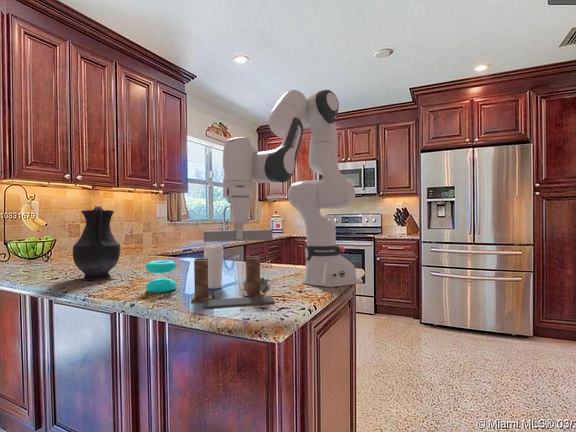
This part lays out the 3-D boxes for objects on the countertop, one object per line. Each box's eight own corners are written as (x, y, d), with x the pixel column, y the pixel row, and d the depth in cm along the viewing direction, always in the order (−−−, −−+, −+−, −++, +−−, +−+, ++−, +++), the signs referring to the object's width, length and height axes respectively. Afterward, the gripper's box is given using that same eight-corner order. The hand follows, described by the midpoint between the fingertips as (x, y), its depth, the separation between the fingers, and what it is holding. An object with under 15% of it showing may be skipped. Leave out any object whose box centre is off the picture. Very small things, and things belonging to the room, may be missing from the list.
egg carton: (261, 293, 112) (261, 281, 112) (240, 292, 114) (240, 280, 114) (270, 286, 123) (270, 275, 123) (250, 285, 124) (250, 274, 124)
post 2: (260, 293, 111) (260, 255, 111) (263, 297, 105) (263, 258, 105) (242, 294, 110) (242, 256, 109) (244, 298, 104) (244, 259, 104)
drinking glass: (219, 290, 116) (218, 247, 116) (201, 289, 117) (200, 246, 117) (226, 285, 123) (226, 245, 123) (209, 285, 124) (208, 244, 124)
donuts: (140, 264, 112) (153, 259, 122) (140, 293, 112) (153, 287, 122) (169, 263, 112) (180, 259, 122) (170, 293, 112) (180, 286, 122)
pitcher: (118, 272, 153) (117, 207, 152) (123, 280, 135) (122, 206, 135) (73, 276, 144) (72, 207, 144) (72, 285, 126) (70, 205, 126)
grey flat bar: (270, 297, 105) (270, 295, 105) (274, 303, 98) (274, 301, 98) (204, 302, 100) (204, 300, 100) (204, 308, 94) (204, 306, 94)
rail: (270, 239, 103) (270, 229, 103) (272, 240, 100) (272, 230, 100) (203, 241, 98) (203, 230, 98) (203, 241, 95) (203, 231, 95)
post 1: (211, 296, 107) (211, 257, 107) (211, 301, 101) (211, 260, 101) (192, 297, 106) (191, 258, 106) (191, 302, 100) (190, 261, 100)
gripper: (225, 193, 108) (226, 236, 109) (229, 189, 89) (229, 241, 89) (245, 194, 110) (245, 236, 110) (253, 189, 90) (253, 240, 90)
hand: (238, 238), depth 99 cm, fingers closed on rail, 3 cm apart
